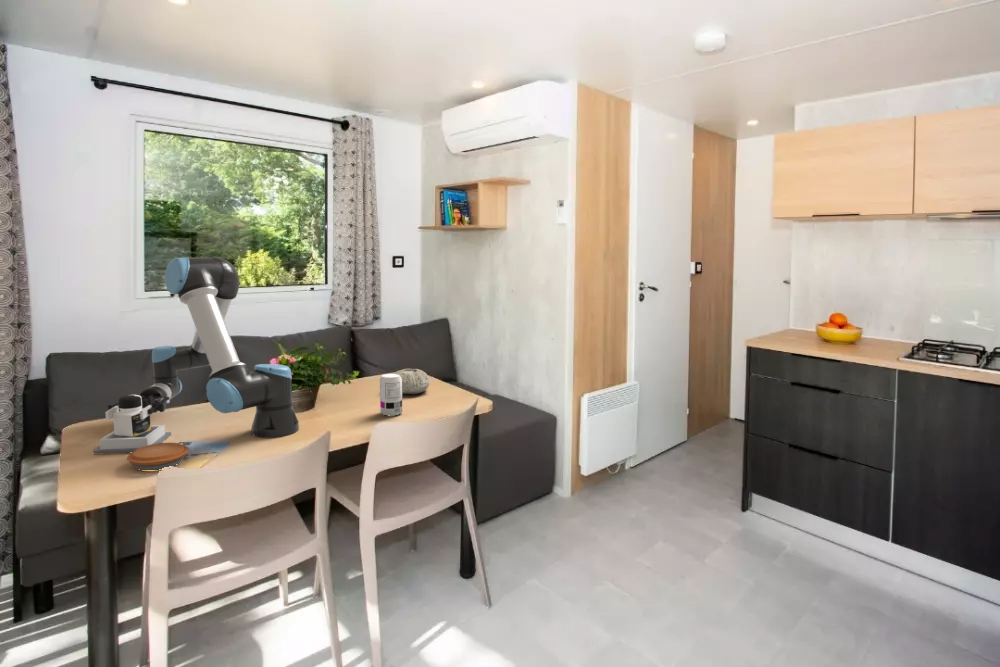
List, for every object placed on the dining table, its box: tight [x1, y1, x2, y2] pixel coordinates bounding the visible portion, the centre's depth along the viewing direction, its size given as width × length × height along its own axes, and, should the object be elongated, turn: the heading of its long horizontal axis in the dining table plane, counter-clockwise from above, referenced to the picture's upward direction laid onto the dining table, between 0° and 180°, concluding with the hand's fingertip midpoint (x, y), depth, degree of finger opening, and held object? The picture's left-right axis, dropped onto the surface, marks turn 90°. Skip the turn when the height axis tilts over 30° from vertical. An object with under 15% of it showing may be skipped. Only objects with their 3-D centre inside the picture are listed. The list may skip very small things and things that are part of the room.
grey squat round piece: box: [392, 368, 430, 395], centre depth 251 cm, size 18×18×10 cm
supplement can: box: [379, 373, 403, 417], centre depth 218 cm, size 8×8×15 cm
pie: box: [126, 442, 190, 470], centre depth 166 cm, size 16×16×5 cm
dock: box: [92, 424, 172, 454], centre depth 182 cm, size 16×16×4 cm
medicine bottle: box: [112, 394, 151, 437], centre depth 181 cm, size 7×7×12 cm
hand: (124, 415), depth 176 cm, fingers closed on medicine bottle, 9 cm apart
